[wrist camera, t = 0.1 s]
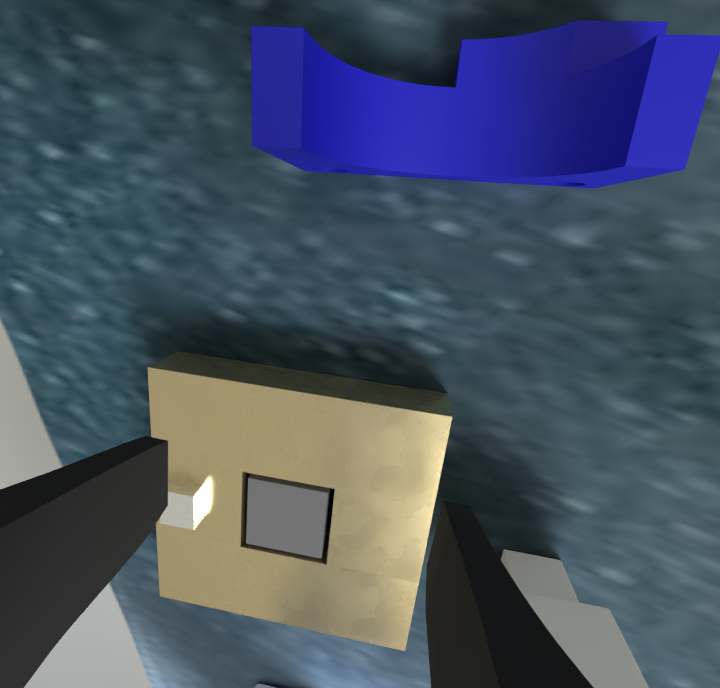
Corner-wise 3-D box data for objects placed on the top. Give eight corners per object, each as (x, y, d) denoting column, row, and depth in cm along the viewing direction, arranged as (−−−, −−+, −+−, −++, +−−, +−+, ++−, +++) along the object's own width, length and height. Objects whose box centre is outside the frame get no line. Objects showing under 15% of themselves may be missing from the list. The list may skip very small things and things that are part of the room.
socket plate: (406, 608, 24) (404, 666, 20) (184, 560, 25) (150, 609, 22) (447, 393, 19) (454, 425, 16) (178, 350, 21) (136, 373, 18)
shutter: (323, 549, 21) (321, 558, 20) (250, 534, 21) (246, 543, 21) (330, 485, 19) (328, 493, 19) (252, 470, 20) (248, 478, 19)
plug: (562, 613, 22) (639, 815, 14) (472, 594, 23) (500, 781, 15) (583, 556, 21) (677, 745, 13) (486, 538, 21) (525, 710, 14)
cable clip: (620, 60, 15) (745, -41, 9) (590, 188, 16) (684, 169, 11) (309, 52, 16) (250, -42, 10) (305, 171, 18) (252, 145, 12)
